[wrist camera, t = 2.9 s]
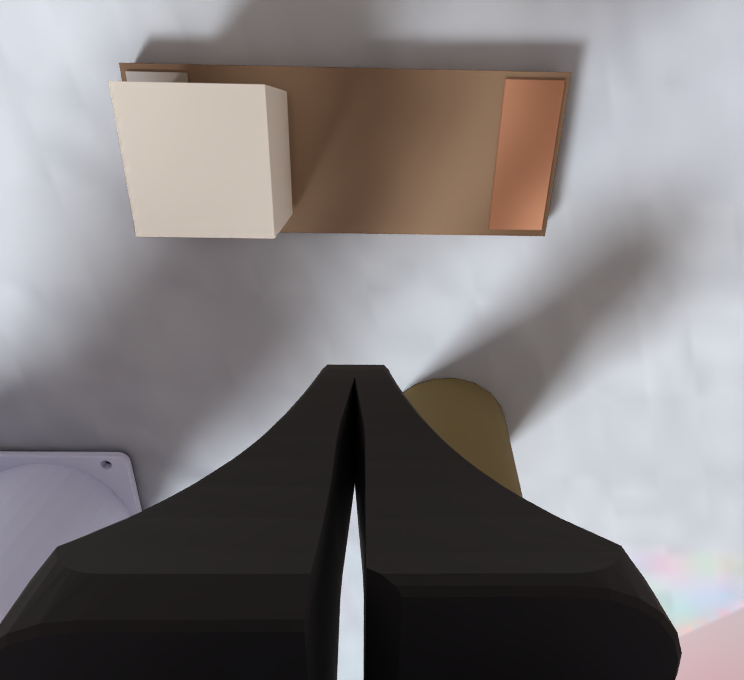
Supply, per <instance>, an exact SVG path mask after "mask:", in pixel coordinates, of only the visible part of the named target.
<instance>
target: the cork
mask: <svg viewBox="0 0 744 680" xmlns="http://www.w3.org/2000/svg"><path fill="white" fill-rule="evenodd" d="M403 394H404V395H405V397H406V398H407V399H408V401H409V402H410V403H411V404H412V406H413V407H414V408H415V409H416V411H417V412H418V413H419V415H420V416H421V417H422V418H423V419H424V420H425V421H426V423H427V424H428V425H429V426H430V427H431V428H432V429H433V430H434V431H435V432H436V433H437V434H438V435H439V436H440V437H441V438H442V439H443V440H444V441H445V442H446V443H447V444H448V445H449V446H450V447H451V448H453V449H454V450H455V451H456V452H457V453H459V454H460V455H461V456H462V457H463V458H464V459H466V460H467V461H468V462H470V463H471V464H472V465H474V466H475V467H476V468H478V469H479V470H480V471H482V472H483V473H485V474H486V475H488V476H489V477H491V478H492V479H494V480H495V481H496V482H498V483H499V484H501V485H502V486H504V487H505V488H507V489H509V490H510V491H512V492H514V493H515V494H517V495H519V496H520V497H522V492H521V488H520V484H519V479H518V475H517V470H516V466H515V461H514V457H513V452H512V448H511V444H510V439H509V435H508V430H507V426H506V422H505V418H504V415H503V411H502V408H501V406H500V405H499V403H498V402H497V401H496V400H495V398H494V397H493V396H492V394H491V393H490V392H488V391H486V390H485V389H483V388H482V387H480V386H478V385H477V384H475V383H472V382H468V381H465V380H461V379H457V378H443V379H432V380H429V381H426V382H423V383H420V384H416V385H414V386H412V387H411V388H409V389H408V390H406V391H405V392H403ZM522 498H523V497H522Z"/></svg>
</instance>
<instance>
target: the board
mask: <svg viewBox="0 0 744 680" xmlns="http://www.w3.org/2000/svg"><path fill="white" fill-rule="evenodd" d="M119 65H120V71H121V77H122V82H169V83H218V84H265V85H268V86H271V87H275V88H278V89H281V90H284V91H287V105H288V126H289V147H290V167H291V188H292V209H293V214H292V215H291V217H290V218H289V220H288V221H287V222H286V224H285V225H284V226H283V228H282V229H281V231H280V232H294V233H365V234H435V235H506V236H545V232H546V226H547V220H548V214H549V207H550V201H551V195H552V189H553V183H554V177H555V170H556V164H557V158H558V152H559V146H560V139H561V133H562V127H563V121H564V115H565V109H566V102H567V96H568V90H569V84H570V78H571V72H531V71H483V70H436V69H389V68H341V67H294V66H246V65H199V64H152V63H119Z"/></svg>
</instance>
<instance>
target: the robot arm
mask: <svg viewBox="0 0 744 680" xmlns="http://www.w3.org/2000/svg"><path fill="white" fill-rule="evenodd" d="M105 461H108V462H110V463H111V464H108V463H106V462H105ZM354 486H355V491H356V503H357V514H358V525H359V537H360V548H361V559H362V571H363V588H364V680H675V679H676V676H677V672H678V668H679V664H680V659H681V654H682V652H681V648H680V643H679V638H678V634H677V631H676V629H675V628H674V626H673V625H672V623H671V621H670V620H669V618H668V616H667V615H666V613H665V611H664V610H663V608H662V606H661V605H660V603H659V601H658V599H657V598H656V596H655V594H654V593H653V591H652V590H651V588H650V586H649V585H648V583H647V582H646V580H645V578H644V577H643V576H642V574H641V573H640V572H639V570H638V569H637V567H636V566H635V565H634V563H633V562H632V561H631V559H630V558H629V556H628V555H627V553H626V552H625V551H624V549H623V548H622V546H620V545H618V544H616V543H614V542H612V541H609V540H607V539H605V538H603V537H600V536H598V535H596V534H594V533H592V532H589V531H587V530H585V529H583V528H581V527H578V526H576V525H574V524H572V523H570V522H567V521H565V520H563V519H561V518H559V517H557V516H555V515H553V514H551V513H549V512H547V511H546V510H544V509H542V508H540V507H538V506H536V505H535V504H533V503H531V502H529V501H527V500H525V499H524V498H522V497H520V496H519V495H517V494H515V493H514V492H512V491H510V490H509V489H507V488H505V487H504V486H502V485H501V484H499V483H498V482H496V481H495V480H494V479H492V478H491V477H489V476H488V475H486V474H485V473H483V472H482V471H480V470H479V469H478V468H476V467H475V466H474V465H472V464H471V463H470V462H468V461H467V460H466V459H464V458H463V457H462V456H461V455H460V454H459V453H457V452H456V451H455V450H454V449H453V448H451V447H450V446H449V445H448V444H447V443H446V442H445V441H444V440H443V439H442V438H441V437H440V436H439V435H438V434H437V433H436V432H435V431H434V430H433V429H432V428H431V427H430V426H429V425H428V424H427V423H426V421H425V420H424V419H423V418H422V417H421V416H420V415H419V413H418V412H417V411H416V409H415V408H414V407H413V406H412V404H411V403H410V402H409V401H408V399H407V398H406V397H405V395H404V394H403V393H402V391H401V390H400V388H399V387H398V385H397V384H396V382H395V380H394V379H393V377H392V375H391V374H390V372H389V370H388V369H387V368H386V367H385V366H384V365H327V366H325V367H324V368H323V369H322V371H321V372H320V373H319V375H318V376H317V378H316V379H315V380H314V381H313V383H312V384H311V385H310V387H309V388H308V389H307V390H306V392H305V393H304V394H303V395H302V396H301V397H300V398H299V400H298V401H297V402H296V403H295V404H294V405H293V406H292V407H291V409H290V410H289V411H288V412H287V413H286V414H285V415H284V416H283V417H282V418H281V419H280V420H279V421H278V422H277V423H276V424H275V425H274V426H273V427H272V428H271V429H270V430H269V431H267V432H266V433H265V434H264V435H263V436H262V437H261V438H260V439H258V440H257V441H256V442H255V443H254V444H253V445H251V446H250V447H249V448H247V449H246V450H245V451H243V452H242V453H241V454H239V455H238V456H237V457H235V458H234V459H232V460H231V461H229V462H228V463H226V464H225V465H223V466H222V467H220V468H218V469H217V470H215V471H214V472H212V473H211V474H209V475H207V476H206V477H204V478H203V479H201V480H200V481H198V482H196V483H195V484H193V485H191V486H190V487H188V488H186V489H184V490H182V491H180V492H179V493H177V494H175V495H173V496H171V497H169V498H168V499H166V500H164V501H162V502H160V503H158V504H155V505H153V506H151V507H149V508H147V509H145V510H143V511H142V509H141V505H140V500H139V496H138V491H137V487H136V483H135V478H134V474H133V469H132V465H131V461H130V458H129V457H128V456H127V455H126V454H124V453H121V452H19V451H0V680H337V665H338V640H339V616H340V595H341V585H342V574H343V567H344V560H345V552H346V545H347V538H348V530H349V523H350V516H351V508H352V501H353V493H354Z"/></svg>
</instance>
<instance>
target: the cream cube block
mask: <svg viewBox="0 0 744 680" xmlns="http://www.w3.org/2000/svg"><path fill="white" fill-rule="evenodd" d="M108 82H109V88H110V93H111V99H112V104H113V110H114V115H115V121H116V127H117V132H118V138H119V143H120V149H121V154H122V160H123V166H124V171H125V177H126V182H127V188H128V193H129V199H130V204H131V210H132V216H133V221H134V227H135V232H136V237H198V238H269V239H275V238H276V236H277V235H278V233H279V232H280V231H281V229H282V228H283V226H284V225H285V224H286V222H287V221H288V220H289V218H290V217H291V215H292V214H293V209H292V188H291V167H290V147H289V126H288V105H287V91H284V90H281V89H278V88H275V87H271V86H268V85H265V84H218V83H169V82H120V81H108Z"/></svg>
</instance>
